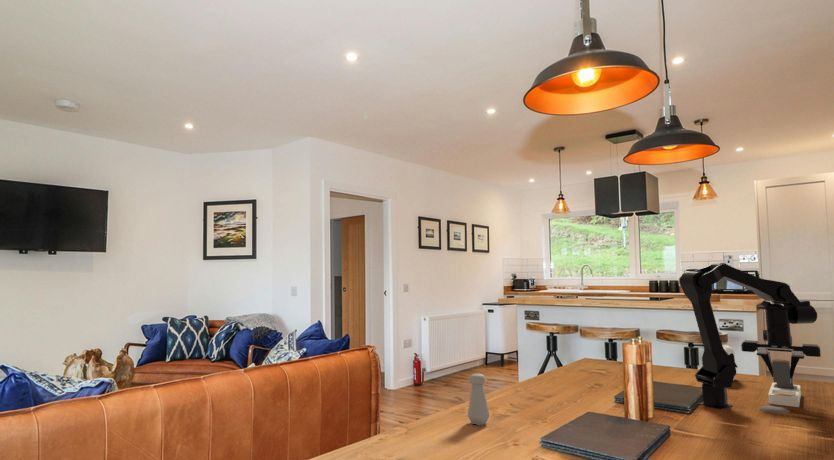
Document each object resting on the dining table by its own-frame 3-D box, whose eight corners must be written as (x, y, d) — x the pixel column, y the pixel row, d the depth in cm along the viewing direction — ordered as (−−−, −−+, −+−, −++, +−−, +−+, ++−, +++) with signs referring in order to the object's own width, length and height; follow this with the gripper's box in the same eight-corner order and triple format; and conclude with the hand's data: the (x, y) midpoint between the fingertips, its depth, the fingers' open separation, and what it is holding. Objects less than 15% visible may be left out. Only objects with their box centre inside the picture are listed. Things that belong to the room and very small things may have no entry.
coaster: (780, 416, 133) (780, 414, 133) (753, 409, 139) (753, 408, 139) (795, 412, 136) (795, 410, 136) (768, 406, 142) (768, 404, 142)
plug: (791, 381, 146) (789, 359, 147) (790, 384, 143) (788, 361, 144) (774, 379, 149) (773, 358, 149) (773, 382, 146) (772, 360, 146)
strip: (799, 408, 140) (796, 382, 140) (768, 404, 144) (766, 379, 145) (802, 385, 165) (800, 364, 166) (776, 382, 170) (774, 362, 170)
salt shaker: (491, 421, 135) (489, 372, 136) (487, 427, 129) (485, 376, 130) (470, 419, 137) (469, 371, 138) (465, 425, 131) (464, 375, 132)
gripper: (818, 323, 147) (822, 376, 146) (743, 320, 159) (747, 369, 158) (818, 327, 139) (822, 383, 138) (739, 323, 151) (743, 375, 149)
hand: (782, 377), depth 146 cm, fingers closed on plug, 4 cm apart
